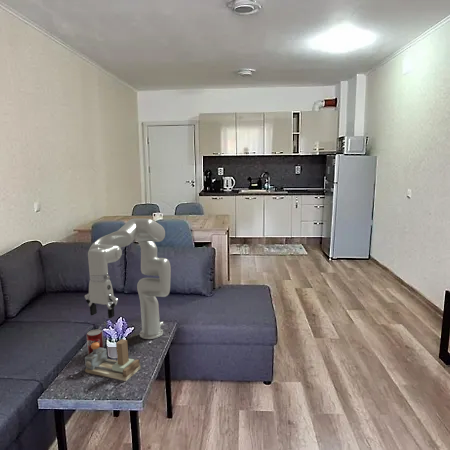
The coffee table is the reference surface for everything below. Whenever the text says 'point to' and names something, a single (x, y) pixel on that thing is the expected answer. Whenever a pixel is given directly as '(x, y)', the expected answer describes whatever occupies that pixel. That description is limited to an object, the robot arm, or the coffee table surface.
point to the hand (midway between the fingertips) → (102, 315)
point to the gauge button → (95, 347)
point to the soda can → (94, 339)
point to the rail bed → (108, 366)
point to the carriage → (122, 356)
